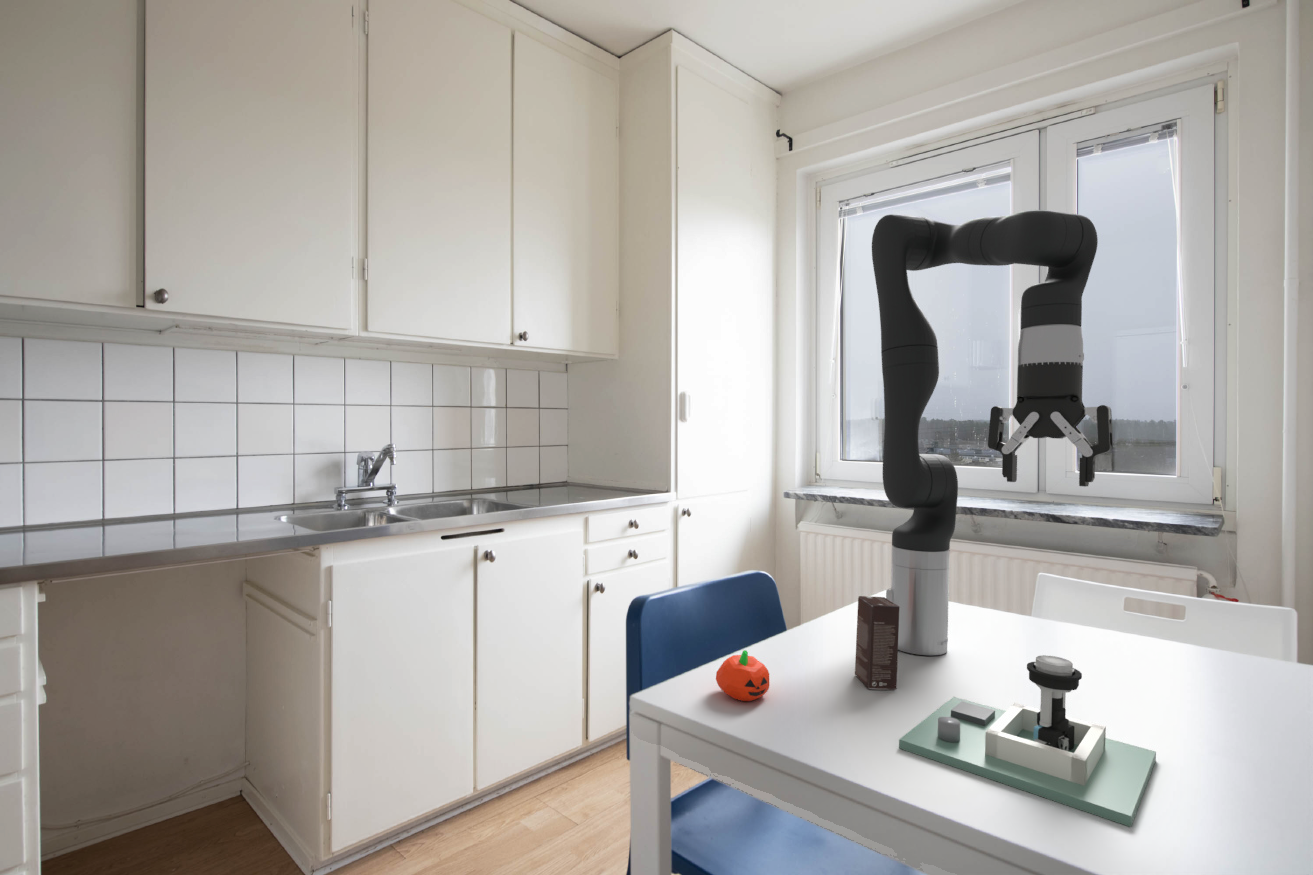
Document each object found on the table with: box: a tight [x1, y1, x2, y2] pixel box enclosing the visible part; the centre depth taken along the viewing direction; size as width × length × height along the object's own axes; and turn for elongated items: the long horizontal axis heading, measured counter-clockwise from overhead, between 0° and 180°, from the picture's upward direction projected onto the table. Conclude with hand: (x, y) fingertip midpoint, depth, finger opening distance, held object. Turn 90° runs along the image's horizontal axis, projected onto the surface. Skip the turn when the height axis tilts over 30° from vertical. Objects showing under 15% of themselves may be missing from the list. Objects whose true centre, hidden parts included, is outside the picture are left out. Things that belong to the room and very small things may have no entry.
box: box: [854, 595, 900, 691], centre depth 98 cm, size 6×4×12 cm
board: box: [898, 696, 1157, 828], centre depth 76 cm, size 22×18×4 cm
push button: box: [1026, 654, 1083, 751], centre depth 75 cm, size 7×5×10 cm
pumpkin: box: [715, 649, 770, 702], centre depth 92 cm, size 7×8×6 cm
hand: (1046, 483), depth 89 cm, fingers open, 8 cm apart
